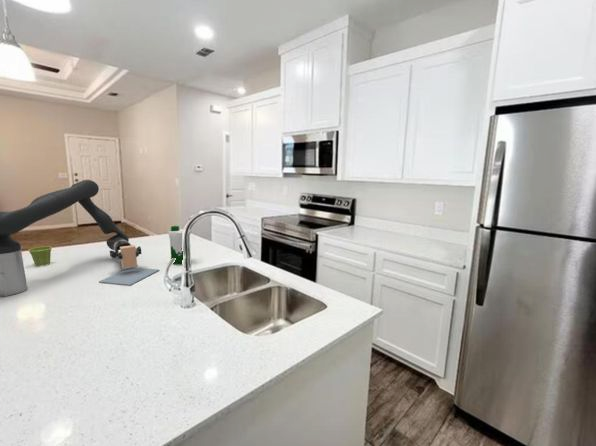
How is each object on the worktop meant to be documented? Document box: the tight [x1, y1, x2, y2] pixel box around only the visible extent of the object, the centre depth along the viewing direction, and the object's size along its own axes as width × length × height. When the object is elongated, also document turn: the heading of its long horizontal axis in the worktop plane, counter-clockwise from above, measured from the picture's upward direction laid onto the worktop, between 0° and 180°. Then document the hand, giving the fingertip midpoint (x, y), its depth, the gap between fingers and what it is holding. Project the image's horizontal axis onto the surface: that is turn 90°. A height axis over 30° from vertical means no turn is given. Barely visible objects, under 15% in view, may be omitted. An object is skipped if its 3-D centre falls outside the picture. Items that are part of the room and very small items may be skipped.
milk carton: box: [167, 225, 184, 266], centre depth 161 cm, size 9×9×20 cm
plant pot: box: [28, 245, 53, 267], centre depth 155 cm, size 9×9×9 cm
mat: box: [98, 267, 160, 287], centre depth 142 cm, size 20×16×1 cm
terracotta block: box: [120, 244, 138, 270], centre depth 144 cm, size 4×6×10 cm, turn 129°
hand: (129, 255), depth 142 cm, fingers closed on terracotta block, 6 cm apart
